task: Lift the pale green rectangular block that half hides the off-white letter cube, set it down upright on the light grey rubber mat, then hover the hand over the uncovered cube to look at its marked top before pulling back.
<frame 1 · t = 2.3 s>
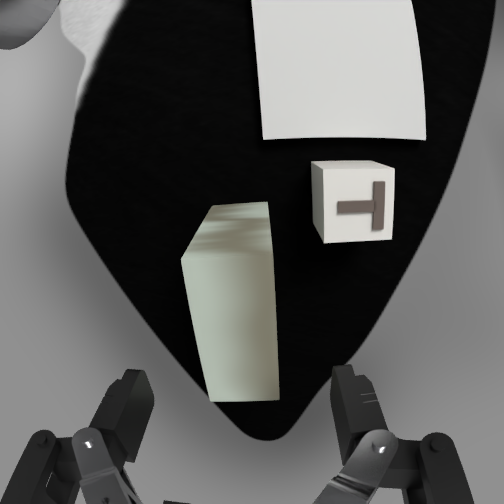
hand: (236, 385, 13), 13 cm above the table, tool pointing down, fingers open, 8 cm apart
letter cube: (342, 191, 23), on the table
mat: (337, 20, 18), on the table
pale green rectangular block: (244, 261, 25), on the table
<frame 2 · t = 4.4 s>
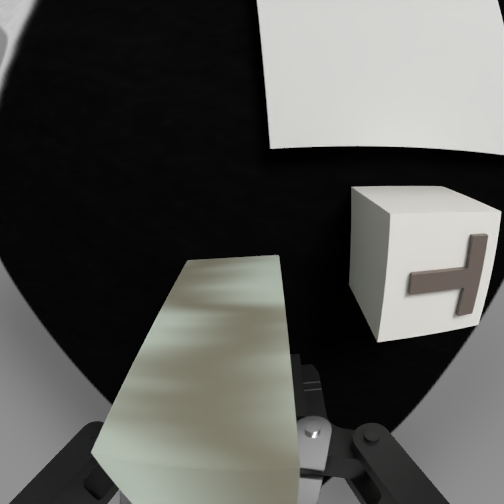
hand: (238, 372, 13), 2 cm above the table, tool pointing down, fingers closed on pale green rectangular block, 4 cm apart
letter cube: (397, 235, 13), on the table
pale green rectangular block: (241, 341, 16), on the table, touching gripper
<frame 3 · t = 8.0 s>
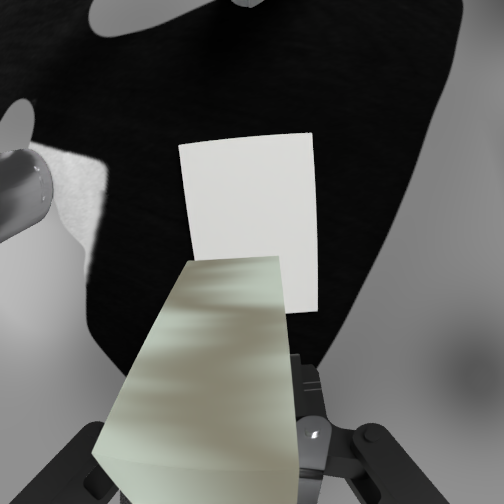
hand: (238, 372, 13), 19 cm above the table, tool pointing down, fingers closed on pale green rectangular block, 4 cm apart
mat: (253, 231, 31), on the table
pale green rectangular block: (241, 342, 16), point 17 cm above the table, touching gripper
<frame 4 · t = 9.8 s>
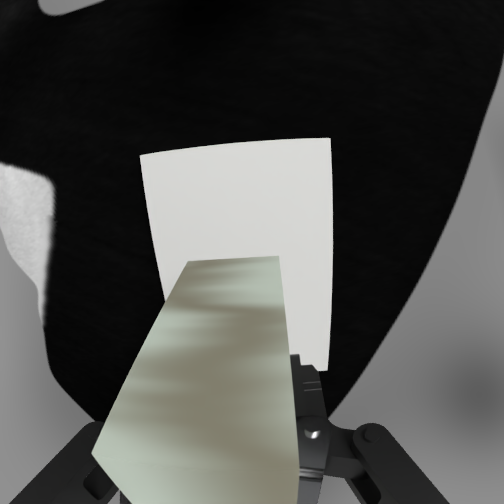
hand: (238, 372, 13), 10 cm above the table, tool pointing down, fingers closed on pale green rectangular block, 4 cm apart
mat: (245, 273, 23), on the table
pale green rectangular block: (241, 342, 16), point 8 cm above the table, touching gripper
when the fingers open (5 cm above the table, at t = 11.6 s): pale green rectangular block drops 1 cm, resting on mat.
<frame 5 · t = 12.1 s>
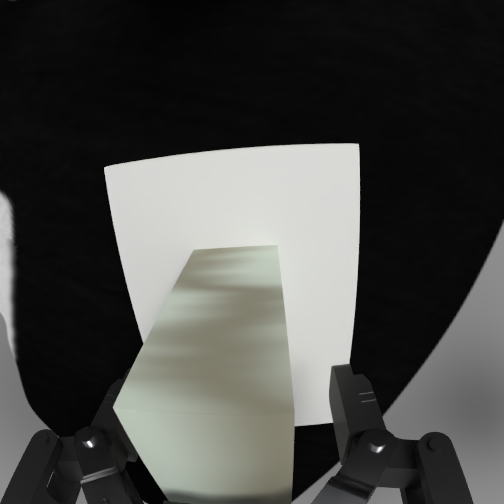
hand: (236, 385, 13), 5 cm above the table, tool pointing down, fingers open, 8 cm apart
mat: (243, 317, 18), on the table
pale green rectangular block: (243, 326, 17), point 1 cm above the table, touching mat
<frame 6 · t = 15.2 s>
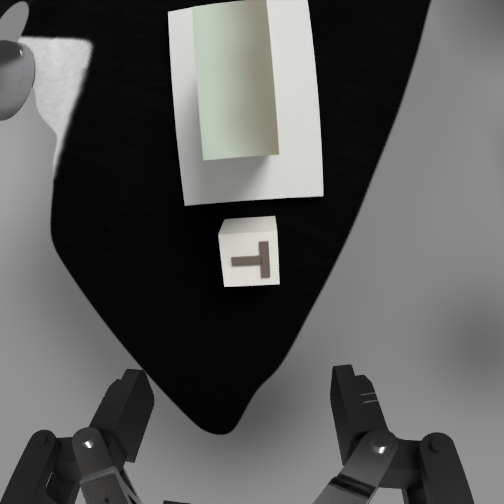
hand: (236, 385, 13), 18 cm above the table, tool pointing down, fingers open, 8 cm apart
letter cube: (251, 241, 30), on the table
mat: (245, 96, 25), on the table
pale green rectangular block: (244, 95, 24), point 1 cm above the table, touching mat
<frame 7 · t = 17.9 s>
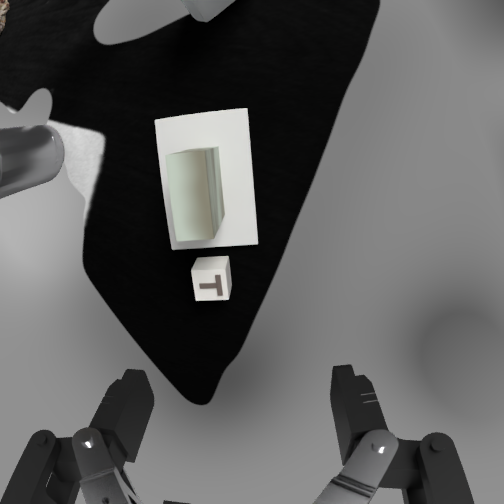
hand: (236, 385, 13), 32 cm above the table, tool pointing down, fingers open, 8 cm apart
letter cube: (214, 271, 46), on the table
mat: (207, 180, 41), on the table
pale green rectangular block: (206, 182, 41), point 1 cm above the table, touching mat
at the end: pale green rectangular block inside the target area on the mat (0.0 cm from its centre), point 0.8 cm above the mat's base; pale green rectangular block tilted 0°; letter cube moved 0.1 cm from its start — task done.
